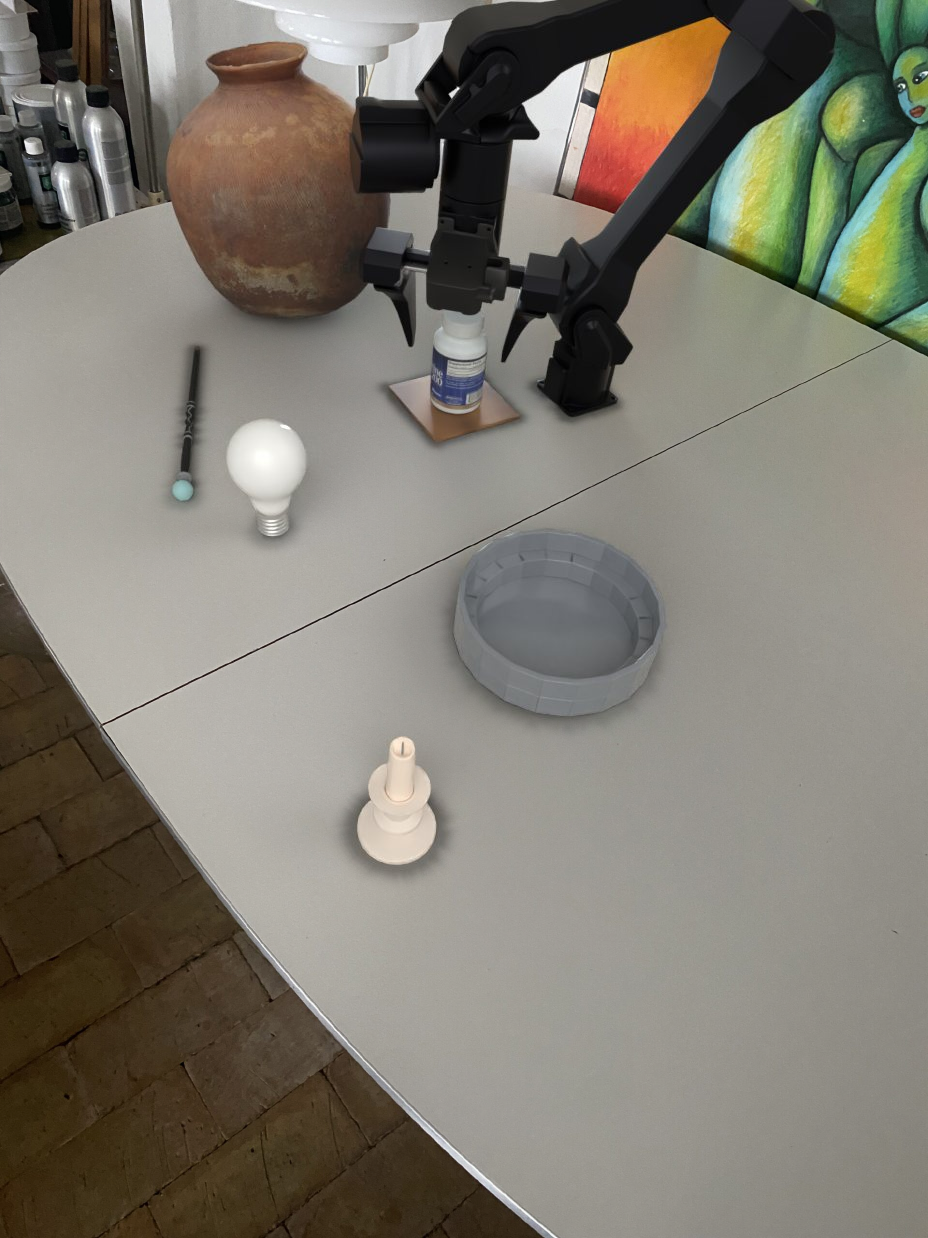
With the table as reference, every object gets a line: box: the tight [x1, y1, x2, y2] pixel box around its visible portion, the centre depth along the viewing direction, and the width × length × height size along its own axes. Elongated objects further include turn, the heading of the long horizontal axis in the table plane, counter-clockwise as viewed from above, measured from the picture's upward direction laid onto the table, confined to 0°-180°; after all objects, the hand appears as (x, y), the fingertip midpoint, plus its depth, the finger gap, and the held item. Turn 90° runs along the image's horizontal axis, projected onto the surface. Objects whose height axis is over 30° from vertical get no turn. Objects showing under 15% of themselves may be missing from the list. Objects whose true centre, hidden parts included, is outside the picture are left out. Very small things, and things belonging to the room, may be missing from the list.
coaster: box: [388, 374, 521, 444], centre depth 90 cm, size 10×10×1 cm
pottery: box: [165, 40, 392, 319], centre depth 92 cm, size 23×23×25 cm
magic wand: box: [171, 345, 200, 502], centre depth 84 cm, size 2×25×2 cm
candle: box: [356, 736, 437, 866], centre depth 54 cm, size 5×5×10 cm
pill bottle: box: [430, 310, 489, 414], centre depth 86 cm, size 5×5×10 cm
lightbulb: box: [225, 417, 308, 537], centre depth 71 cm, size 6×6×11 cm
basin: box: [452, 528, 667, 718], centre depth 69 cm, size 16×16×4 cm
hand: (457, 352), depth 86 cm, fingers open, 9 cm apart
